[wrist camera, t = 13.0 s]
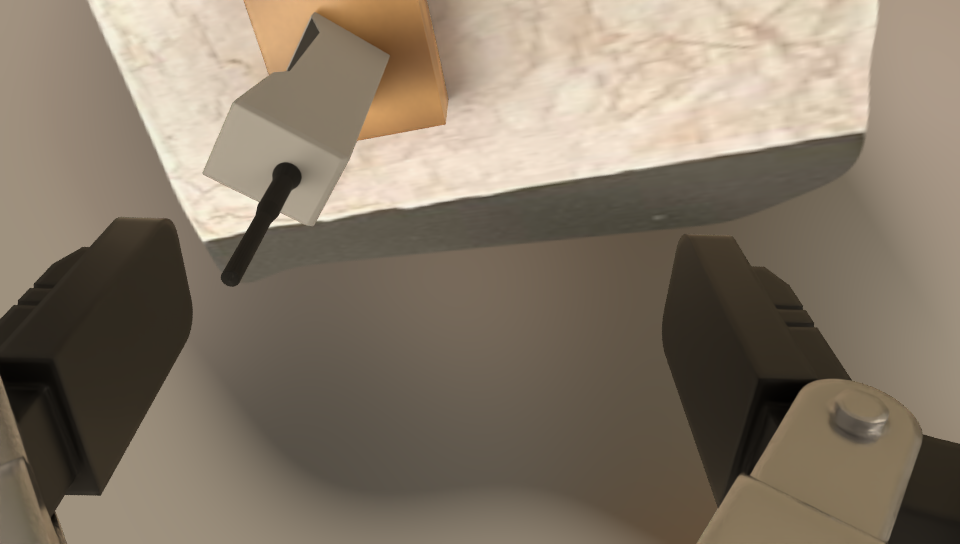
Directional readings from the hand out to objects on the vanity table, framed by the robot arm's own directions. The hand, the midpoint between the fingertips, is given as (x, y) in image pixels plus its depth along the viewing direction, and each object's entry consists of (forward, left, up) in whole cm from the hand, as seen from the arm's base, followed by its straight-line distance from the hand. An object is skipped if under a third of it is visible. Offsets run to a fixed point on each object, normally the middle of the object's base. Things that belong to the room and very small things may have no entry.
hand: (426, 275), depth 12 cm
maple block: (+6, -7, -40) cm, 41 cm away
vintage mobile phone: (+6, -7, -35) cm, 36 cm away
